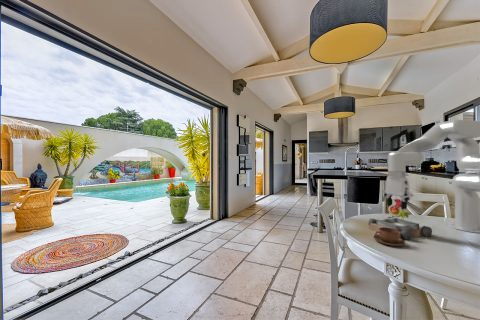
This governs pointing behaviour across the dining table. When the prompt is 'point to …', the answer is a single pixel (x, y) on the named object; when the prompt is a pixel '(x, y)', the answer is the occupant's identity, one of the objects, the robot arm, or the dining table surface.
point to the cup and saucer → (388, 237)
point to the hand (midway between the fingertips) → (396, 207)
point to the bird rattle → (397, 210)
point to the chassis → (401, 227)
